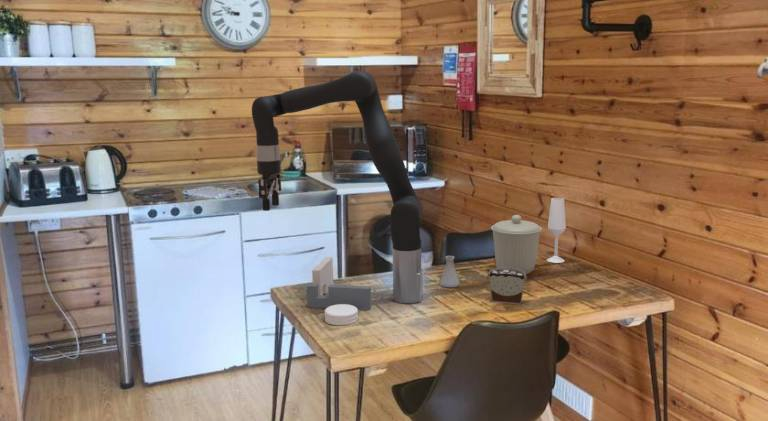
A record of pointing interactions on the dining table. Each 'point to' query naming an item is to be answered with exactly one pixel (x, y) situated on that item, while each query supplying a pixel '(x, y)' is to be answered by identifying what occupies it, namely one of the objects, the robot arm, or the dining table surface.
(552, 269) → the dining table surface
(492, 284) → the food container
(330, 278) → the white slotted plate
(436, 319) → the dining table surface
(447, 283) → the flask
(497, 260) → the canister
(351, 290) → the grey slotted plate
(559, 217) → the champagne flute
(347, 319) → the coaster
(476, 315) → the dining table surface
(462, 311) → the dining table surface
